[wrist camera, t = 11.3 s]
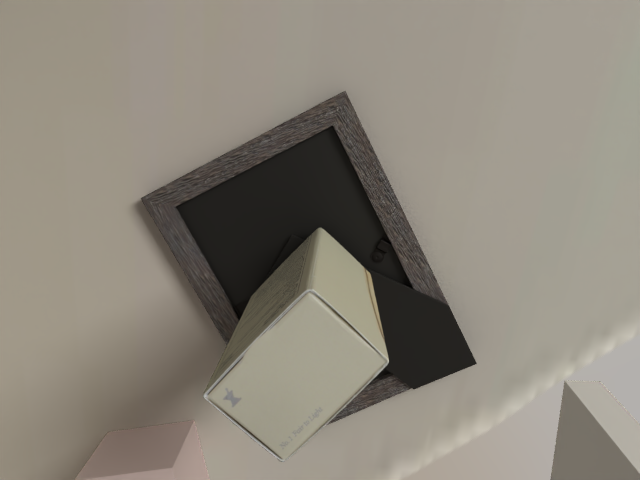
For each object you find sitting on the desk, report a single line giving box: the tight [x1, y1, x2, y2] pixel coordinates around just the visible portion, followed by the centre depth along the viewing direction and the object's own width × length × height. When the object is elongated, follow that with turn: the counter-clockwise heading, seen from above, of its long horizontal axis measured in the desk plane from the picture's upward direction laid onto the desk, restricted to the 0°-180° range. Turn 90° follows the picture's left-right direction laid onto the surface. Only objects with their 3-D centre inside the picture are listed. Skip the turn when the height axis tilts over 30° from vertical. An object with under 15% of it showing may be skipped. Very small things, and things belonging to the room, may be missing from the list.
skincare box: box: [203, 228, 389, 462], centre depth 26 cm, size 6×4×12 cm
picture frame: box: [141, 91, 477, 425], centre depth 33 cm, size 13×2×18 cm
